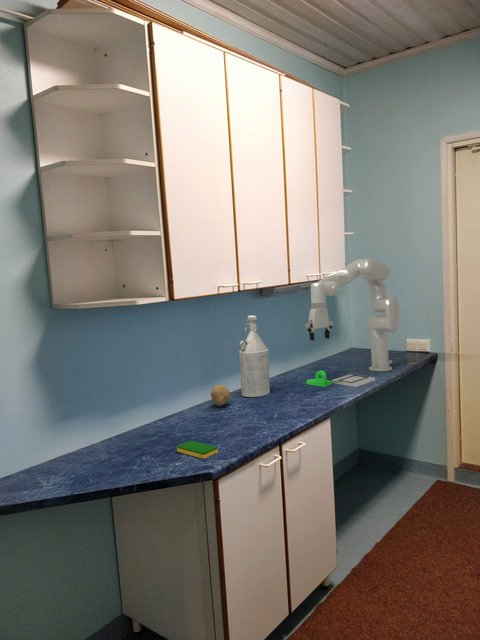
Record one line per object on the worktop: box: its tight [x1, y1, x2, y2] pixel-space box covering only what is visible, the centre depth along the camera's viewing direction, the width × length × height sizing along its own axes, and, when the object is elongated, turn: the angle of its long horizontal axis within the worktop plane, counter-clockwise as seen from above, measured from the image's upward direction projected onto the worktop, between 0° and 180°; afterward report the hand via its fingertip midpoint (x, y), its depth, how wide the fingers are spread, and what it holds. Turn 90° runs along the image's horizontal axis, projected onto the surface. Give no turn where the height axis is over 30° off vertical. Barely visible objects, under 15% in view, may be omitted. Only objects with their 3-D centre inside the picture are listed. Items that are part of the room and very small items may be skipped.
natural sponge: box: [210, 384, 231, 407], centre depth 237 cm, size 9×9×10 cm
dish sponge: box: [176, 440, 219, 460], centre depth 179 cm, size 7×14×2 cm, turn 49°
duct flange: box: [330, 374, 376, 388], centre depth 267 cm, size 16×16×2 cm
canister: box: [238, 315, 271, 398], centre depth 253 cm, size 13×17×40 cm
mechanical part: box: [306, 370, 333, 388], centre depth 267 cm, size 12×6×8 cm, turn 42°
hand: (319, 339), depth 263 cm, fingers open, 9 cm apart
